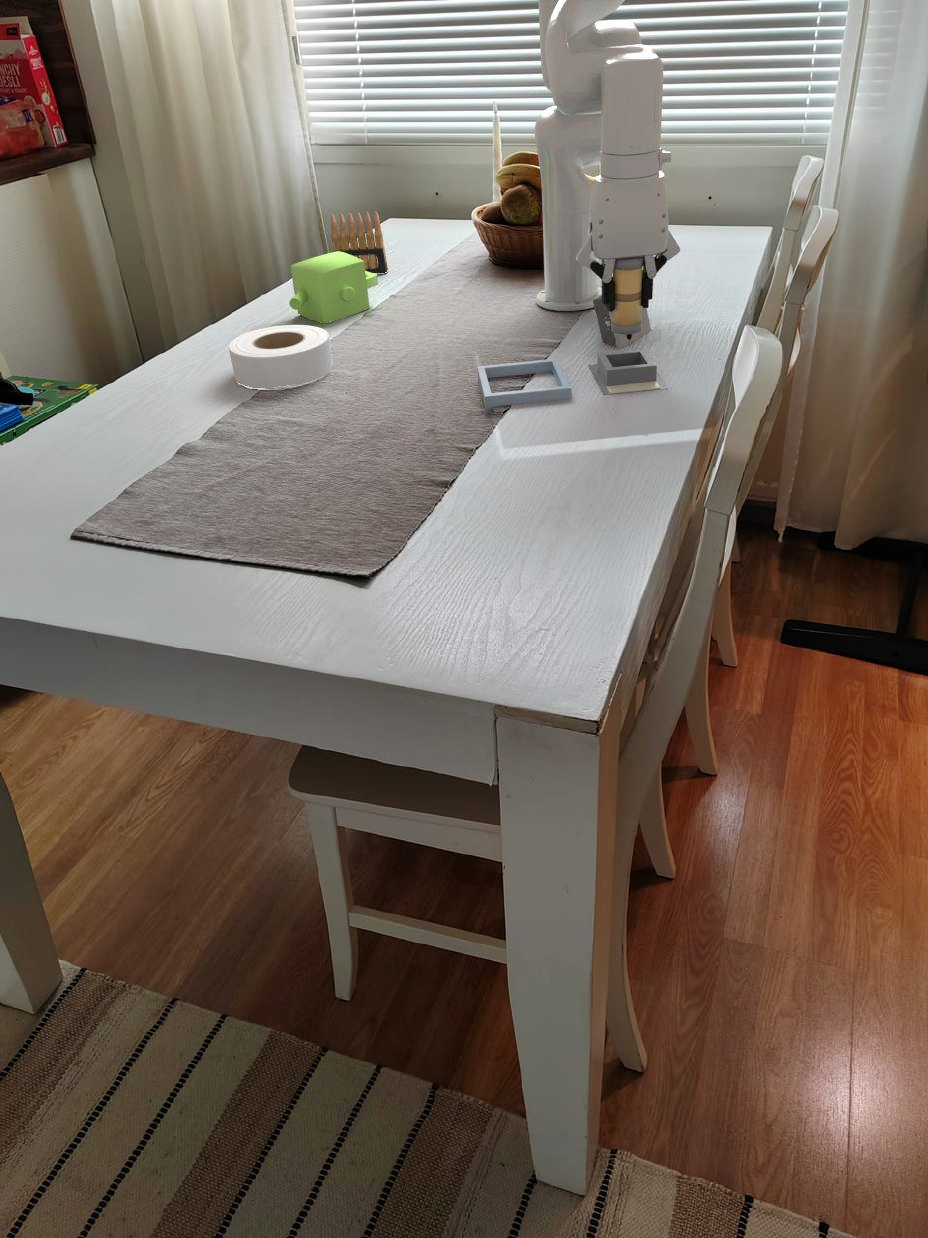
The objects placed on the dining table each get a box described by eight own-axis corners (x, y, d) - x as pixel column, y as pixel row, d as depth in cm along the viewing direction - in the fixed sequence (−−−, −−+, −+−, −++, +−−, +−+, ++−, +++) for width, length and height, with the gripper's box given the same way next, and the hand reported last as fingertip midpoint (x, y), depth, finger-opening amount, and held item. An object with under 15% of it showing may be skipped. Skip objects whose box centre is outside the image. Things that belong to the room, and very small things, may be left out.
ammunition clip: (388, 271, 202) (381, 209, 195) (386, 273, 201) (379, 211, 194) (337, 274, 203) (328, 212, 197) (335, 276, 202) (326, 215, 195)
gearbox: (307, 335, 173) (298, 281, 167) (277, 322, 179) (268, 270, 174) (388, 307, 182) (383, 255, 176) (357, 296, 188) (350, 245, 183)
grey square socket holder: (587, 371, 147) (587, 348, 145) (647, 365, 148) (648, 342, 146) (603, 401, 137) (603, 377, 135) (667, 395, 138) (668, 370, 136)
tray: (478, 382, 147) (477, 366, 146) (558, 374, 147) (557, 358, 146) (486, 413, 137) (484, 396, 136) (571, 404, 137) (571, 387, 136)
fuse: (608, 325, 140) (609, 253, 135) (637, 323, 140) (639, 250, 135) (614, 335, 137) (615, 261, 131) (644, 332, 137) (646, 258, 131)
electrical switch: (622, 354, 152) (618, 293, 148) (593, 352, 155) (589, 292, 151) (652, 336, 158) (649, 277, 153) (624, 334, 161) (621, 276, 157)
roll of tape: (283, 350, 166) (277, 318, 163) (353, 364, 158) (348, 330, 155) (214, 382, 156) (206, 348, 153) (286, 398, 148) (279, 362, 145)
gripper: (686, 152, 129) (679, 292, 140) (560, 165, 129) (562, 304, 140) (702, 164, 123) (693, 309, 134) (570, 177, 123) (571, 321, 134)
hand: (626, 305), depth 137 cm, fingers closed on fuse, 4 cm apart
